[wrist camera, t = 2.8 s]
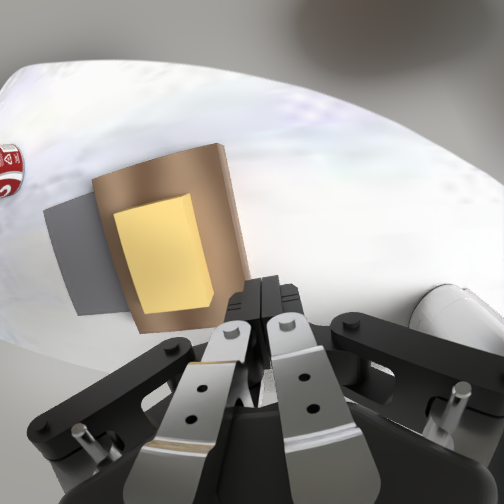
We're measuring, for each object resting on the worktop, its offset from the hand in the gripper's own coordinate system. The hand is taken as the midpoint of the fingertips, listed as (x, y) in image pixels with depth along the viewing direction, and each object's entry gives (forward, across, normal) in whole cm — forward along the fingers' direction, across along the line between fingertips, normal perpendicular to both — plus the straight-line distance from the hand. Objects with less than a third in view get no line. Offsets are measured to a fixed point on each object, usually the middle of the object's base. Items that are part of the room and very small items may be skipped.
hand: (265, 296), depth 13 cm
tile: (+10, +8, 0) cm, 13 cm away
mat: (+16, +20, 0) cm, 26 cm away
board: (+15, +8, 0) cm, 17 cm away
